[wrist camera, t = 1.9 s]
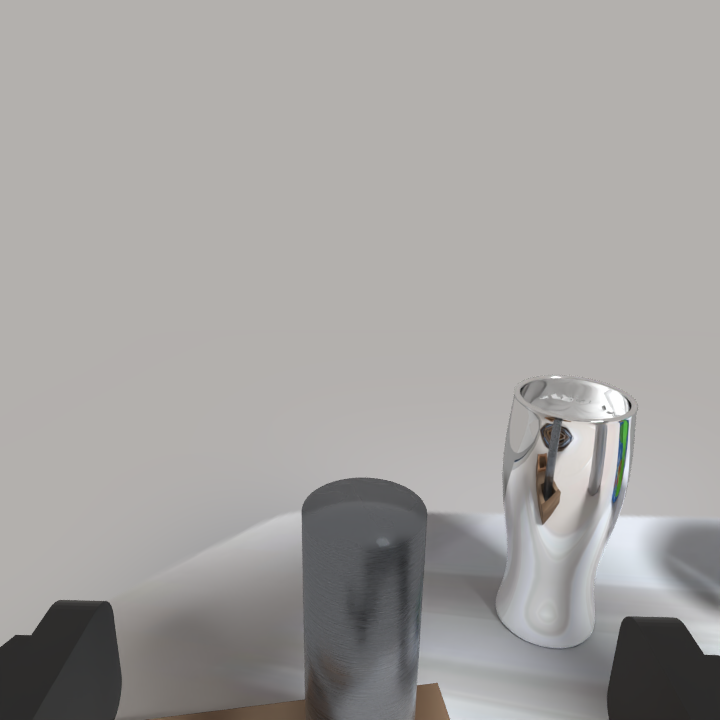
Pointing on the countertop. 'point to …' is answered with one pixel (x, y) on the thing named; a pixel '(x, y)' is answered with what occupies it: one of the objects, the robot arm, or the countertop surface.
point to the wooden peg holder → (292, 715)
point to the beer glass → (561, 502)
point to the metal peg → (362, 599)
